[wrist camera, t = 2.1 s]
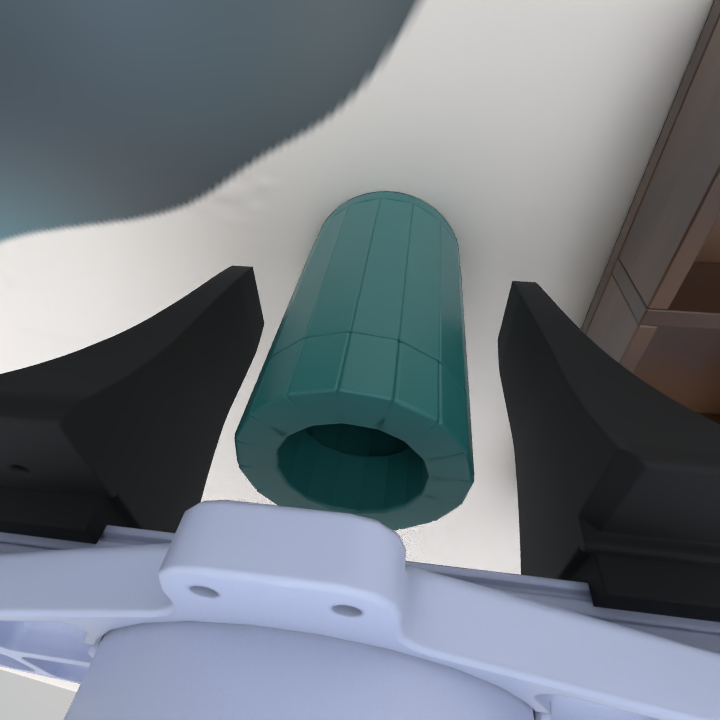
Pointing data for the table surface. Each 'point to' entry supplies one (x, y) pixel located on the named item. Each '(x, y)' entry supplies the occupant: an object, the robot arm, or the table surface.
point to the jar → (368, 373)
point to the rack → (672, 250)
